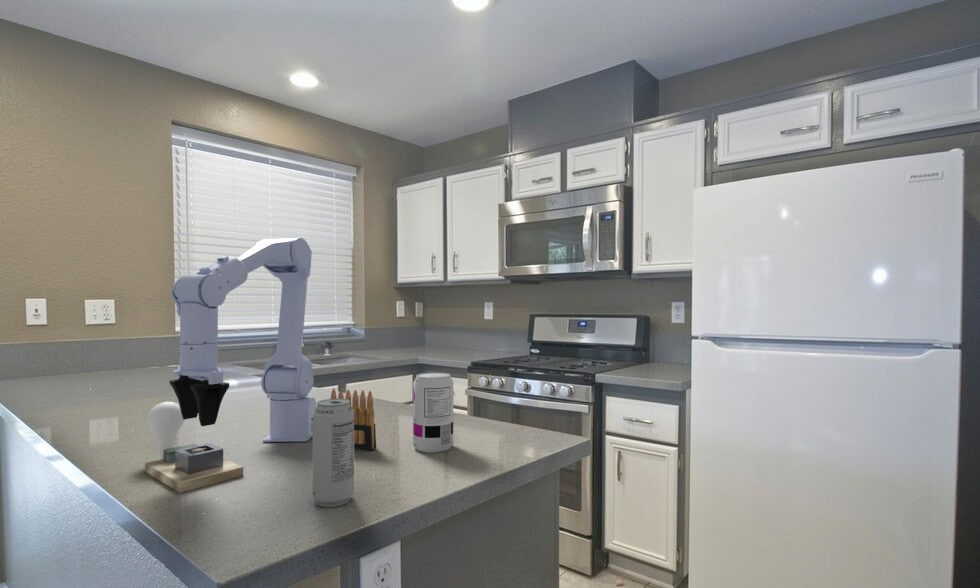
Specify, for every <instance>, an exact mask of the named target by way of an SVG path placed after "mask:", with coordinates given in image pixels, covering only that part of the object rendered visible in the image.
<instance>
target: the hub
mask: <svg viewBox="0 0 980 588" xmlns="http://www.w3.org/2000/svg"><path fill="white" fill-rule="evenodd" d="M199 448H207V451H204V452H200V453H195V454H192V450H194V449H199ZM223 458H224V448H221V447H220V446H217V445H216V444H213V443H210V442H209V443H204V444H200V445H198V446H194V447H189V448H184V449H180V450H175V468H177V469H178V470H180V471H182V472H184V473H186V474H188V475H189V474H193V473H197V472H202V471H206V470H210V469H214V468H218V467H222V466H223Z"/></svg>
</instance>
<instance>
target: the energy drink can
mask: <svg viewBox="0 0 980 588" xmlns="http://www.w3.org/2000/svg"><path fill="white" fill-rule="evenodd" d="M316 405H317V407H316V409H315V411H314V413H313V436H312V498H313V500H315V501H316V503H315V504H316V505H318V506H319V507H322V508H333V507H339V506H343V505H345V504H347V503H349V502H350V501H351V497H353V495H354V493H355V449H354V410H353V409H352V404H351V405H350V400H348V399H345V398H344V399H338V398H337V399H331V398H327V399H322V400H318V401H316Z"/></svg>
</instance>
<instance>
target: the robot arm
mask: <svg viewBox="0 0 980 588" xmlns="http://www.w3.org/2000/svg"><path fill="white" fill-rule="evenodd" d="M312 254H313V251H312V249H311V247H310V245H309V243H308V242H307V240H306V239H304V238H303V237H296V238H274V239H273V238H272V239H271V238H264V239H262V240H261V239H260V241H259V240H258V241H256V242H255V245H254V246H253V247H252V248H250V249H248V250H247V251H246V252H243V254H241V255H239V256H238V257H233V256H226V255H225V256H224V255H221V256H219V257H217V258H216V260H217V262H215V263H213V264H211V265H209V266H202V267H201V268H199V270H198V272H196V274H186V275H185V274H183V275H182V276H180V277H179V279H177V280H176V282H175V283H174V285H173V289H172V290H170V294H171V299H172V301H173V302H174V303H175V305H176V314H177V315H178V317H179V365H176V369H175V370H171V375H173V376H177V379H170V380H169V385H170V386H171V388H172V389H173V391H174V393H175V395H176V398H177V403H178V404H179V406H180V410H181V414H182V417H183V419H184V421H185V420H188V419H189V420H190V419H196V418H198V420H199V424H200V426H201V427H206V426H213V425H215V424H216V422H217V418H218V414H219V411H220V408H221V404H222V401H223V398H224V396H225V395H226V393H227V392H228V390H229V388H230V383H229V382H227V381H226V382H224V371H221V370H220V367H219V366H218V365H219V364H218V362H219V361H218V359H219V357H218V354H219V353H218V352H219V350H218V347H219V346H218V343H219V342H218V341H219V338H218V337H219V333H218V331H219V330H218V328H219V326H218V325H219V320H218V319H219V318H218V317H219V306H222V305H223V304H224V303H225V300H226V297H227V295H228V294H229V293H230V292H232V291H233V290H235V289H237V288H238V287H240V286H242V285H243V284H244V283H245V282H246V281H247V280H248V276H249V275H248V274H249V273H251V272H253V271H255V270H257V269H259V268H260V267H264V269H266V270H267V271H268V272H269V273H270V274H271V275H272V276H273V277H275V278H278V279H279V282H281V285H282V286H281V295H280V308H279V317H278V319H279V320H278V331H277V341H276V352H275V353H274V354H273V355H272V356H270V357H269V358H268V359H267V360H266V361H265V366H264V371H263V372H262V376H261V378H260V384H261V389H262V392H263V393H264V394H266V399H269V434H268V435H267V436H266V437H264V438H263V439H262V442H264V443H267V442H268V443H271V442H272V443H275V442H277V443H278V442H279V443H280V442H281V443H284V442H285V443H286V442H287V443H288V442H308V441H309V440H310V439H311V438H313V413H314V411H315V409H316V407H317V400H316V398H315V397H309V394H310V392H311V391H312V389H313V386H314V382H315V380H314V374H313V362H312V361H311V360H310V359H309V358H308V357H306V356H305V355H304V354H303V353H302V352H303V338H304V328H305V314H306V304H307V292H308V291H307V290H308V278H309V277H310V276H311V268H312V257H313V256H312ZM284 366H286V367H284ZM287 366H293V367H287Z"/></svg>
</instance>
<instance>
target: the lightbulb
mask: <svg viewBox="0 0 980 588" xmlns="http://www.w3.org/2000/svg"><path fill="white" fill-rule="evenodd" d="M146 421H147V426H148V427H149V429H150V431H151V432H152V433H153V435H154V438H155V442H156V447H157V455H158V458H160V459H163V450H165V449H169V448H174V447H175V445H176V444H177V437H178V434H179V431H180V430H181V427H182V426H183V424H184V422H185V420H184V419H183V417H182V414H181V410H180V406H179V403H178V402H173V401H164V402H159V403H158V404H156V405H155V406H153V407H152V408H151V410H150V411H149V412H148V413H147V418H146Z"/></svg>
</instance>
